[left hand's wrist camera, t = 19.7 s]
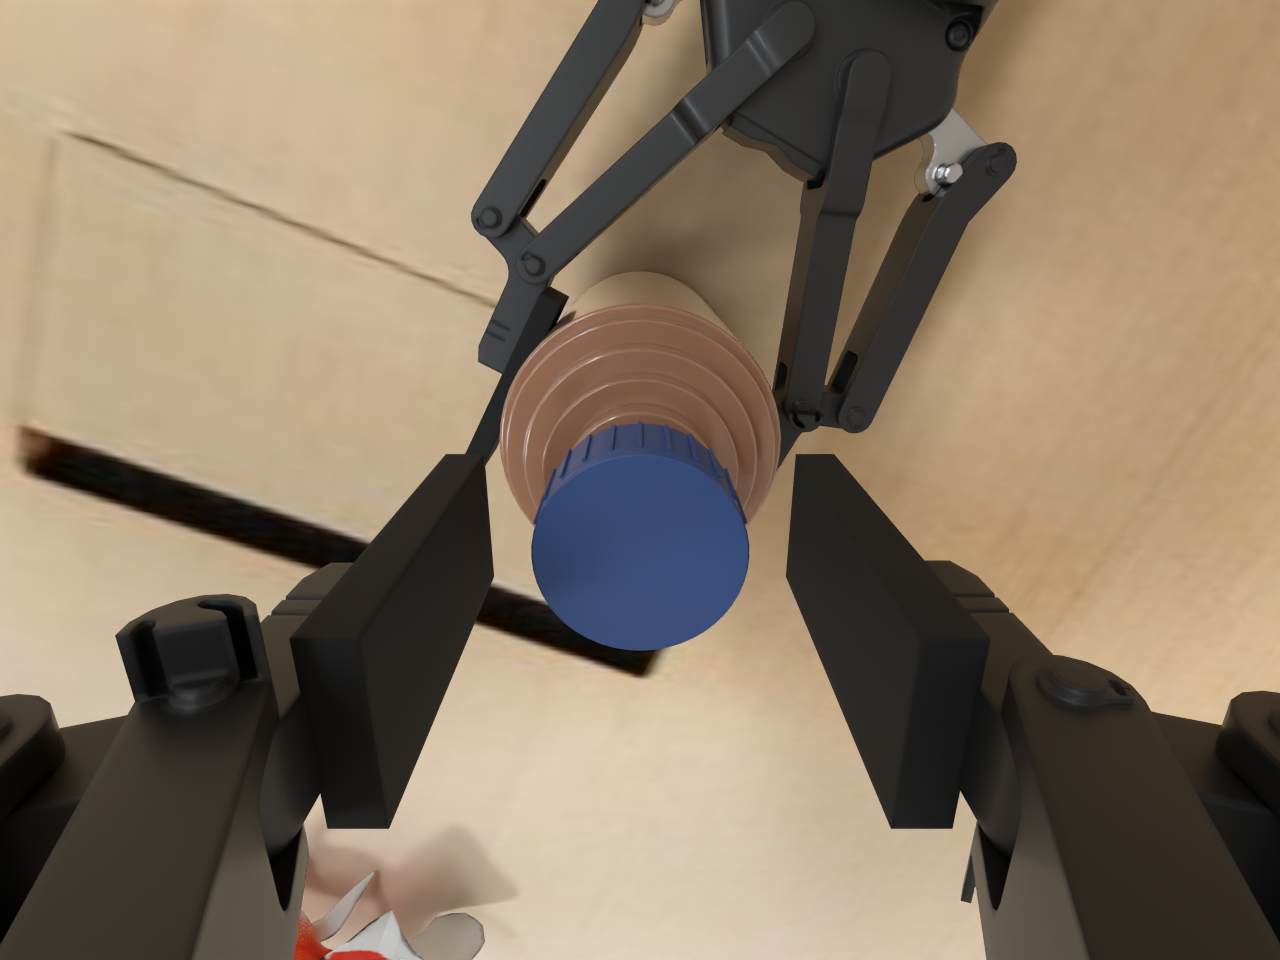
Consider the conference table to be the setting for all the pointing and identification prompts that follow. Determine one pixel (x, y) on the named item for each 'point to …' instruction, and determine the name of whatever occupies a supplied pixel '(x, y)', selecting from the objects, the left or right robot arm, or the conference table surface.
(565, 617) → the cap
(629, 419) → the bottle
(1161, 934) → the left robot arm
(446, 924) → the fish
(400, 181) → the conference table surface
